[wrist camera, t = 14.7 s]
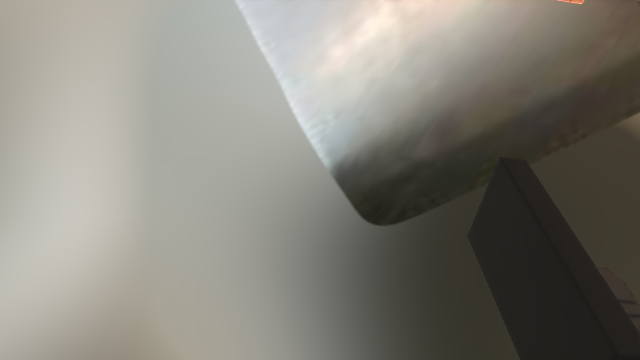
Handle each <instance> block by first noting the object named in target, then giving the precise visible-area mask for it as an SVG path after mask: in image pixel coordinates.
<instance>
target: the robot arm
mask: <svg viewBox="0 0 640 360" xmlns="http://www.w3.org/2000/svg"><path fill="white" fill-rule="evenodd" d="M468 238H469V241H470V243H471V246H472V248H473V250H474V252H475V255H476V257H477V260H478V262H479V264H480V267H481V269H482V271H483V274H484V276H485V278H486V281H487V283H488V285H489V288H490V290H491V292H492V295H493V297H494V299H495V302H496V304H497V306H498V309H499V311H500V313H501V316H502V318H503V320H504V322H505V325H506V327H507V330H508V332H509V334H510V337H511V339H512V341H513V344H514V346H515V348H516V351H517V353H518V355H519V358H520V360H640V305H639V304H637V302H638V301H637V299H636V298H635V297H634V295H633V294H632V292H631V291H630V289H629V288H628V287H627V285H626V284H625V283H624V282H623V281H622V280H621V279H620V278H618V277H617V276H616V275H615V274H613V273H612V272H611V271H610V270H609V269H608V268H606V267H596V266H595V264H594V263H593V261H592V260H591V258H590V257H589V255H588V254H587V252H586V251H585V249H584V248H583V246H582V245H581V243H580V242H579V240H578V239H577V237H576V236H575V234H574V233H573V231H572V230H571V228H570V227H569V225H568V224H567V222H566V221H565V219H564V218H563V216H562V214H561V213H560V212H559V210H558V208H557V207H556V205H555V204H554V202H553V201H552V199H551V198H550V196H549V195H548V193H547V192H546V190H545V189H544V187H543V186H542V184H541V183H540V181H539V179H538V178H537V176H536V175H535V173H534V172H533V170H532V169H531V167H530V166H529V164H528V163H527V161H526V160H519V159H511V158H502V157H499V160H498V162H497V165H496V167H495V170H494V172H493V175H492V177H491V179H490V182H489V184H488V187H487V189H486V192H485V195H484V197H483V199H482V202H481V204H480V207H479V209H478V212H477V214H476V216H475V219H474V221H473V224H472V227H471V229H470V232H469V234H468Z"/></svg>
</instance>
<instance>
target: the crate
mask: <svg viewBox="0 0 640 360" xmlns="http://www.w3.org/2000/svg"><path fill="white" fill-rule="evenodd" d="M560 1H565V2H572V3H578V4H582V3H583V1H584V0H560Z"/></svg>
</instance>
